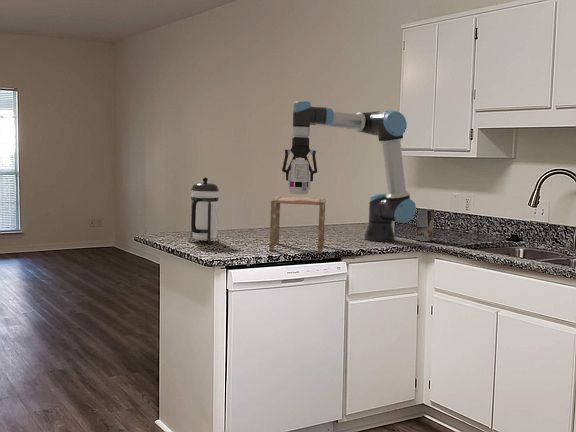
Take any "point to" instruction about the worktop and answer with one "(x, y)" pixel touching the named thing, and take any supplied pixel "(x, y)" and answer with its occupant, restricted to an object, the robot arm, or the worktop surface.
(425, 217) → the coffee box
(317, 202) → the trapdoor
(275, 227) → the trapdoor frame
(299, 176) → the supplement can
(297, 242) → the worktop surface
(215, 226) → the coffee press
